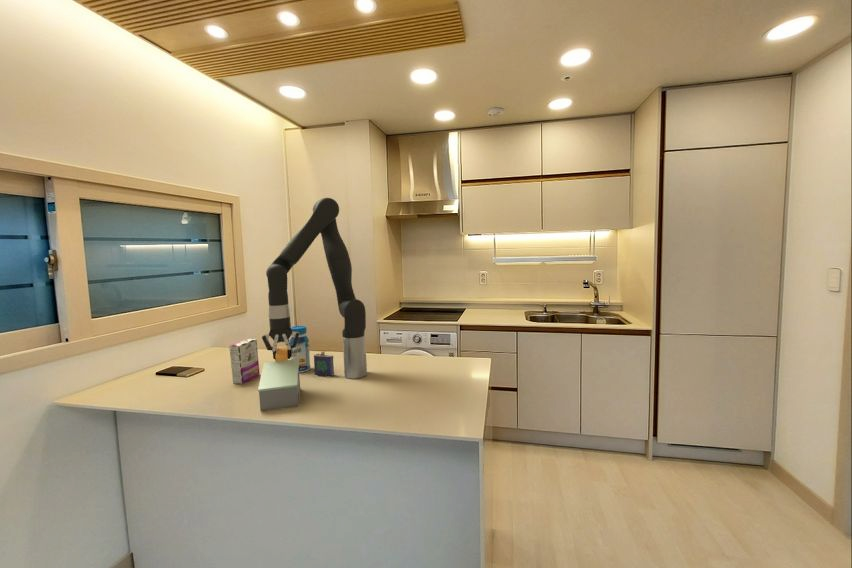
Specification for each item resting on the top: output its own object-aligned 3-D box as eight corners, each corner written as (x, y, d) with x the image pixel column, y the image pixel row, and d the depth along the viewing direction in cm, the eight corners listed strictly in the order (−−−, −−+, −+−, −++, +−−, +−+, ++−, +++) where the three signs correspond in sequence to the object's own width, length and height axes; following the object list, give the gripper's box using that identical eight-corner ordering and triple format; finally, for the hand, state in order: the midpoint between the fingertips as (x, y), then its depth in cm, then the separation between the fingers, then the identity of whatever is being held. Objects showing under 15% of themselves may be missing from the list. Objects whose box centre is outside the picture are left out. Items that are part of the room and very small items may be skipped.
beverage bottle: (314, 368, 165) (312, 326, 163) (299, 374, 158) (296, 329, 156) (302, 366, 169) (300, 324, 167) (287, 371, 162) (284, 328, 160)
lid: (299, 353, 145) (299, 344, 143) (297, 388, 124) (296, 379, 123) (266, 356, 141) (265, 348, 140) (258, 393, 121) (257, 384, 119)
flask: (335, 374, 156) (333, 350, 155) (331, 377, 153) (330, 352, 152) (316, 373, 158) (315, 349, 157) (312, 375, 155) (311, 351, 154)
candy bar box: (250, 374, 159) (247, 338, 158) (260, 375, 158) (257, 338, 157) (231, 383, 149) (228, 345, 147) (242, 384, 148) (239, 345, 146)
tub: (300, 389, 140) (299, 372, 139) (298, 406, 124) (296, 386, 124) (267, 394, 136) (265, 376, 136) (260, 411, 121) (258, 391, 120)
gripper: (299, 313, 144) (302, 354, 146) (261, 315, 140) (264, 358, 142) (298, 316, 137) (301, 360, 138) (258, 319, 133) (261, 364, 135)
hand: (282, 359), depth 140 cm, fingers closed on lid, 4 cm apart
